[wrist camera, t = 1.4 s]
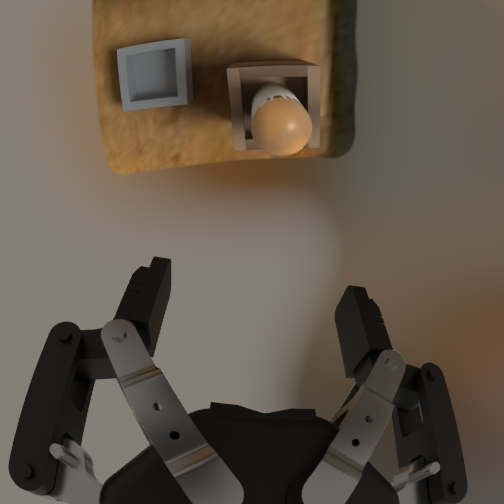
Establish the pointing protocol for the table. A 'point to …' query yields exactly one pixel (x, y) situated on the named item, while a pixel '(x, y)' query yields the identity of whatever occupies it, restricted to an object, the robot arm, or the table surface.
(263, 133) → the white and tan cylinder
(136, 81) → the low socket
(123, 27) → the table surface
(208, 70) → the table surface
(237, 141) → the socket tower
